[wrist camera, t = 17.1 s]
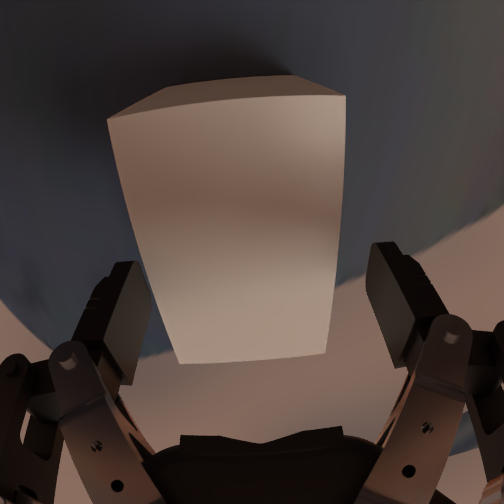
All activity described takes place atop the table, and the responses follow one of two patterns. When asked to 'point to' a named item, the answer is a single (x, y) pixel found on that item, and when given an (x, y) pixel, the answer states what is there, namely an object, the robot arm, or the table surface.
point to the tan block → (237, 212)
